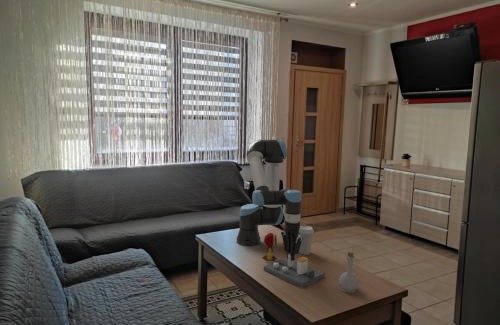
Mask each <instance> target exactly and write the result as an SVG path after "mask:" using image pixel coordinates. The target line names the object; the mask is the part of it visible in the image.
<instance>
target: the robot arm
mask: <svg viewBox="0 0 500 325" xmlns="http://www.w3.org/2000/svg"><path fill="white" fill-rule="evenodd" d="M287 151H288V148H287V146H286V143H285V142H284V140H281V139H257V140H255V141H253V142H252V143H250V145H249V146H248V147H247V150H246V154H245V155H246V160H247V162H248V163H249V166H250V167H249V168H250V171H251V176H252V182H253V187H254V190H253V192H252V196H251V197H252V198H251V199H252V203H247V204H244V205H242V206H241V207H240V209H239V230H238V232H237V233H238V234H237V236H236V243H237V244H239V245H242V246H248V247H249V246H257V245H259V244H260V243H261V240H262V239H261V236H260V232H259V226H276V225H280V224H281V223H282V221H283V217H284V218H285V219H284V220H285V221H284V231H281V232H280V234H281V235H280V236H281V237H282V238H281V239H282V245H283V251H284V252H286V255H287V256H286V258H287V259H288V267H292V266H293V264H294V260H295V259H296V255H298V254H300V253H299V249H300V245H301V242H302V240H303V237H301V236H300V233H299V229H300V226H301V211H302V192H301V191H300V190H298V189H288V188H283V189H280V181H281V180H280V177H281V165H282V164H283V163H284V160H286V159H287V156H288V155H287V154H288V152H287ZM263 160H264V162H263ZM264 163H265V164H266V166H264ZM265 167H266V168H265ZM282 206H285V210H284V209H283V207H282ZM284 211H285V215H284ZM295 261H296V260H295Z"/></svg>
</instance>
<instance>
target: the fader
mask: <svg viewBox="0 0 500 325" xmlns="http://www.w3.org/2000/svg"><path fill="white" fill-rule="evenodd" d="M296 261H297V273H299V274H301V275H302V274H304V273H306V272H307V266H309V265H308V262H309V258H308V257H305V256H301V257H299V258H296Z"/></svg>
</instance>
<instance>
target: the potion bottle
mask: <svg viewBox="0 0 500 325" xmlns="http://www.w3.org/2000/svg"><path fill="white" fill-rule="evenodd" d="M345 258H346V261H347V264H346V265H347V266H346V267H347V268H346V271H345V272H343V273H341V275H340V276H339V278H338V283H339V287H340V289H341V291H342V292H344V293H346V294H347V293H349V294H352V293H356V291H357V289H358V287H359V284H360V283H359V278H358V276H357V275H356V274H355V273H354V272H353V262H354V260H355V258H356V257H355V255H354V253H353V252H350V251H347V255H345Z"/></svg>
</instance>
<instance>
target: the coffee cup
mask: <svg viewBox="0 0 500 325" xmlns="http://www.w3.org/2000/svg"><path fill="white" fill-rule="evenodd" d="M299 233H300V236H301V237H303V240H302V242H301V245H300V249H299V253H298V254H300V255H305V256H306V255H310V254H311V250H312V249H311V248H312V243H313V242H312V240H313V234H314V233H315V231H314V228H313V227H312V226H310V225H300V229H299Z"/></svg>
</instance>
